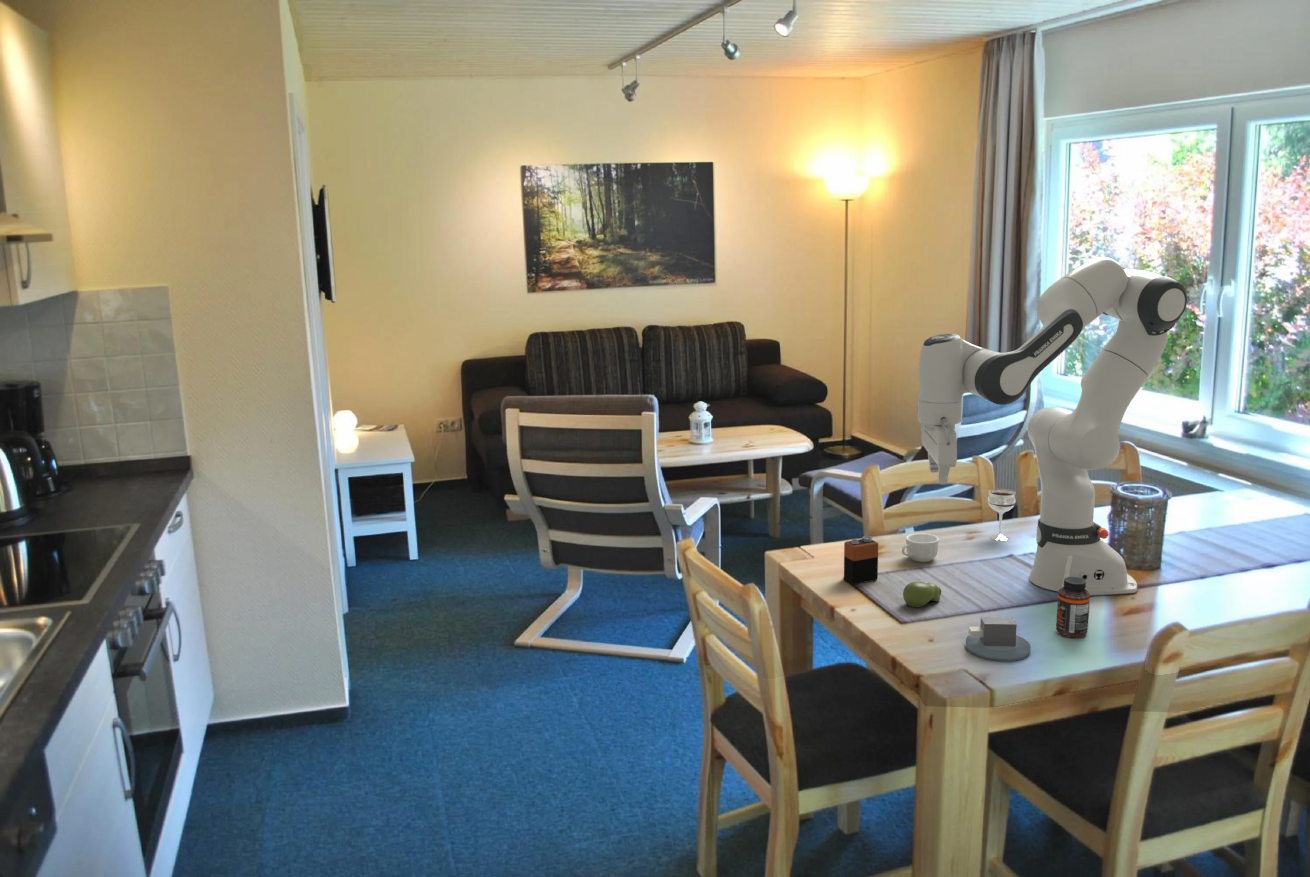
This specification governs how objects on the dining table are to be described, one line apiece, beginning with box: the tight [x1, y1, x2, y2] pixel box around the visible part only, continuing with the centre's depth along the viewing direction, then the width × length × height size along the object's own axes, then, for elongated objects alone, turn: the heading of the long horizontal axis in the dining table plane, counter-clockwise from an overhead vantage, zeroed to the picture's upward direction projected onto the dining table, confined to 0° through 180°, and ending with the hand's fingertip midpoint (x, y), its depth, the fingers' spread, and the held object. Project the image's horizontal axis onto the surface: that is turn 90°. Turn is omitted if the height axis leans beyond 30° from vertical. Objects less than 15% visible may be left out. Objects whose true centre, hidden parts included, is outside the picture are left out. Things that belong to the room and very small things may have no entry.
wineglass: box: [987, 488, 1016, 541], centre depth 266 cm, size 7×7×12 cm
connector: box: [968, 616, 1018, 646], centre depth 201 cm, size 8×4×4 cm, turn 84°
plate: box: [965, 634, 1032, 662], centre depth 202 cm, size 12×12×1 cm
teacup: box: [901, 532, 940, 563], centre depth 252 cm, size 10×8×5 cm
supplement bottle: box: [1055, 577, 1091, 639], centre depth 207 cm, size 6×6×11 cm
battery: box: [843, 535, 879, 585], centre depth 239 cm, size 4×7×10 cm, turn 113°
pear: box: [902, 581, 942, 608], centre depth 225 cm, size 6×5×10 cm
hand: (937, 477), depth 219 cm, fingers open, 8 cm apart
